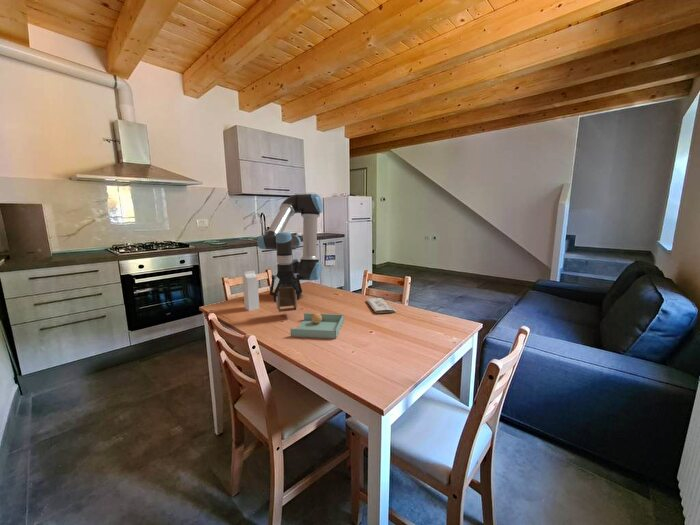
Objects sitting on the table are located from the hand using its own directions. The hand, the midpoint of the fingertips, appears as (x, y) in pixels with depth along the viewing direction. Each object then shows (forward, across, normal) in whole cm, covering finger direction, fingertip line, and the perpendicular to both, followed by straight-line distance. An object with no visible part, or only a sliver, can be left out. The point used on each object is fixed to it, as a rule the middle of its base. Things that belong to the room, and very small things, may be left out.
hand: (286, 307), depth 146 cm
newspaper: (+6, +52, +1) cm, 52 cm away
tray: (+6, +13, -20) cm, 24 cm away
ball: (+3, +13, -14) cm, 19 cm away
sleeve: (+1, 0, 0) cm, 1 cm away
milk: (+5, -18, +18) cm, 26 cm away
